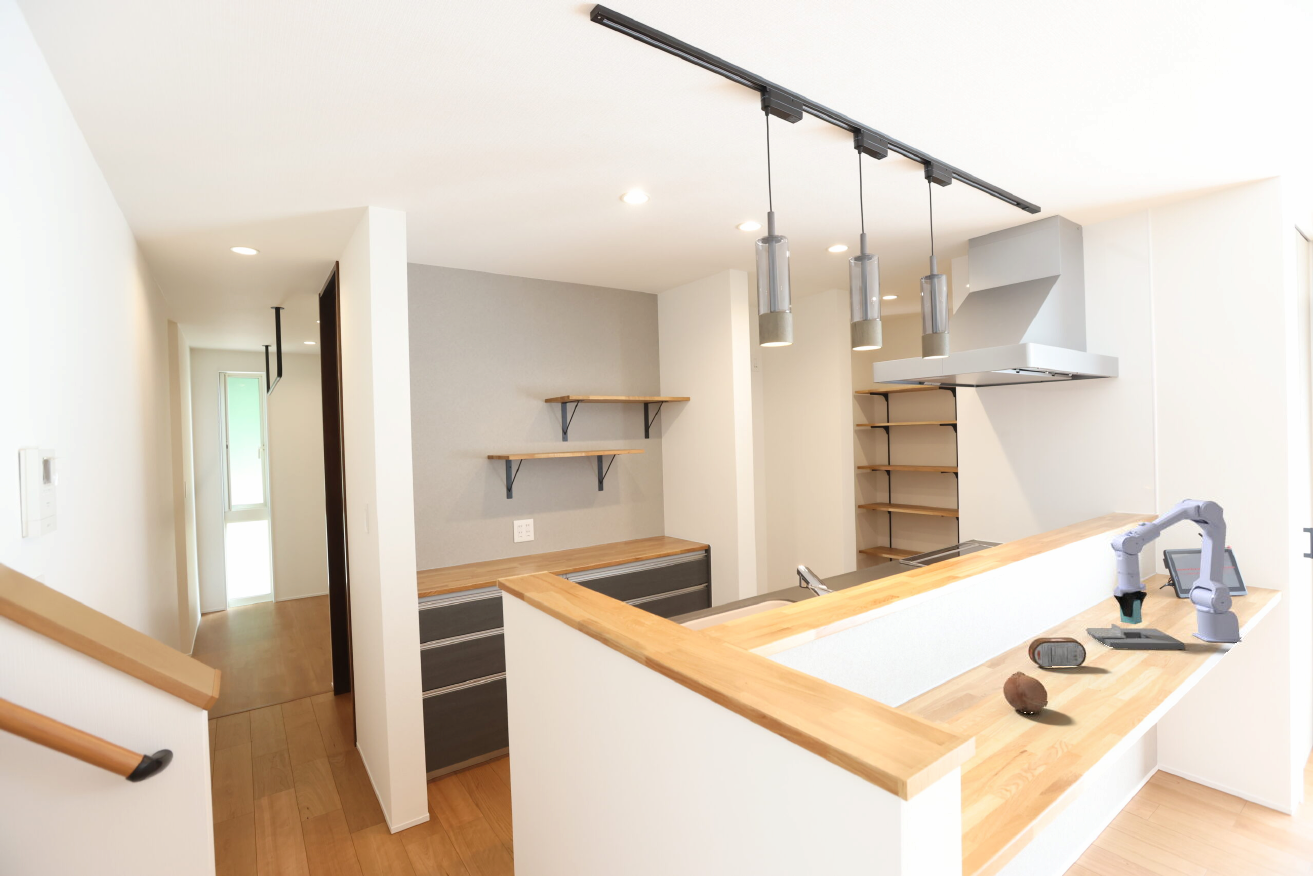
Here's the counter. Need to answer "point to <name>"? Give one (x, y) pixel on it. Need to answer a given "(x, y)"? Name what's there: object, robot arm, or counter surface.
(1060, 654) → the tin
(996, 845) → the counter surface
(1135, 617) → the plug
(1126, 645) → the socket plate
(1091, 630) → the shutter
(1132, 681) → the counter surface
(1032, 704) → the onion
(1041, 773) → the counter surface
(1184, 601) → the counter surface
